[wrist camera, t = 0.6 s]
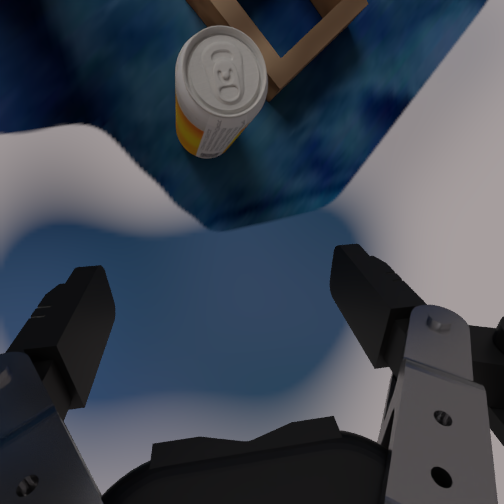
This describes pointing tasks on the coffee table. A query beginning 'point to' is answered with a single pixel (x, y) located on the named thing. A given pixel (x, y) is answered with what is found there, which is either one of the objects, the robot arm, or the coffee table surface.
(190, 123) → the soda can
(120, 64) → the coffee table surface
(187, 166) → the coffee table surface
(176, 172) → the coffee table surface
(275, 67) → the walnut collar
